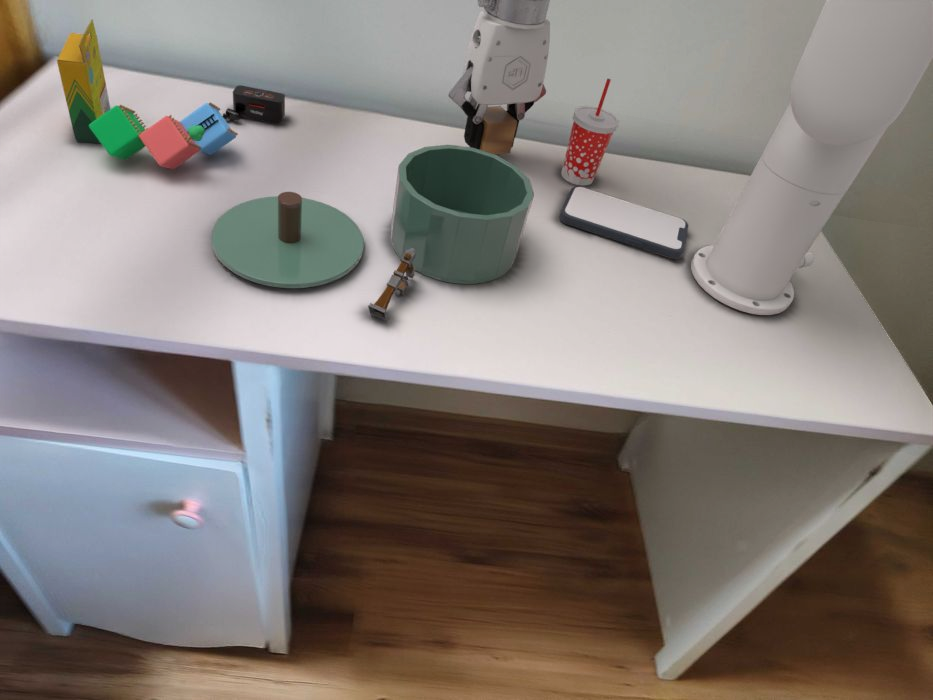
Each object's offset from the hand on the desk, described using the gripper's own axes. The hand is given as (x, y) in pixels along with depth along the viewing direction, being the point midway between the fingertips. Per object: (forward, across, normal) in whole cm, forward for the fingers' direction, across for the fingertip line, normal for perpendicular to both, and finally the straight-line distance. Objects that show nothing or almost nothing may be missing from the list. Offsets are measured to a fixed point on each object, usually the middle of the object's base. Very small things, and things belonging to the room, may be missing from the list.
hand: (488, 143), depth 95 cm
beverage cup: (+2, +11, -8) cm, 13 cm away
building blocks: (+2, -40, +6) cm, 41 cm away
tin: (+2, -14, -18) cm, 23 cm away
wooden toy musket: (+2, -25, -24) cm, 35 cm away
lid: (+1, -32, -14) cm, 35 cm away
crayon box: (+1, -47, +14) cm, 49 cm away
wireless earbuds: (+2, -28, +14) cm, 32 cm away
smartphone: (+3, +10, -20) cm, 22 cm away
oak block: (0, 0, 0) cm, 0 cm away
